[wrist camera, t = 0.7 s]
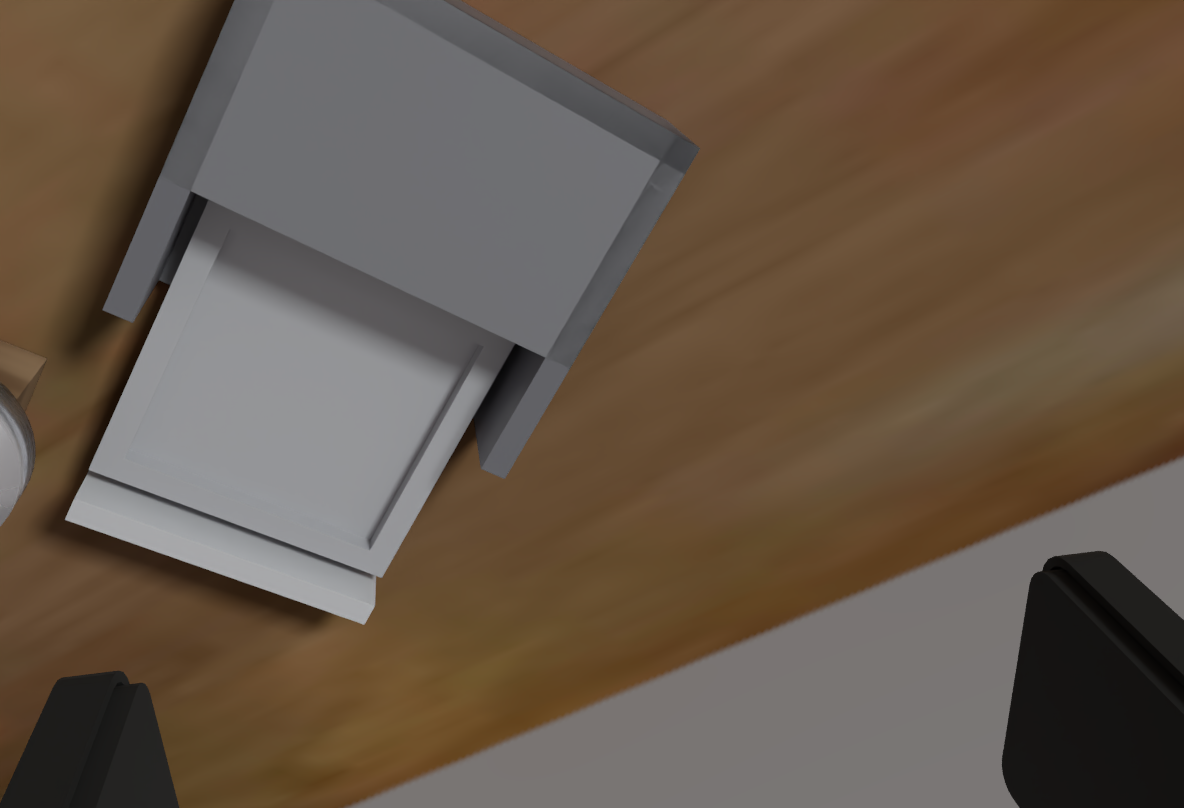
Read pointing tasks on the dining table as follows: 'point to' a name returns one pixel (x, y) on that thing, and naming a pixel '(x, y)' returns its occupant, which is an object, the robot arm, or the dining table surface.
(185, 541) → the tray
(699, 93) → the dining table surface
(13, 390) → the walnut block
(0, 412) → the silver disc
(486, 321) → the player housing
